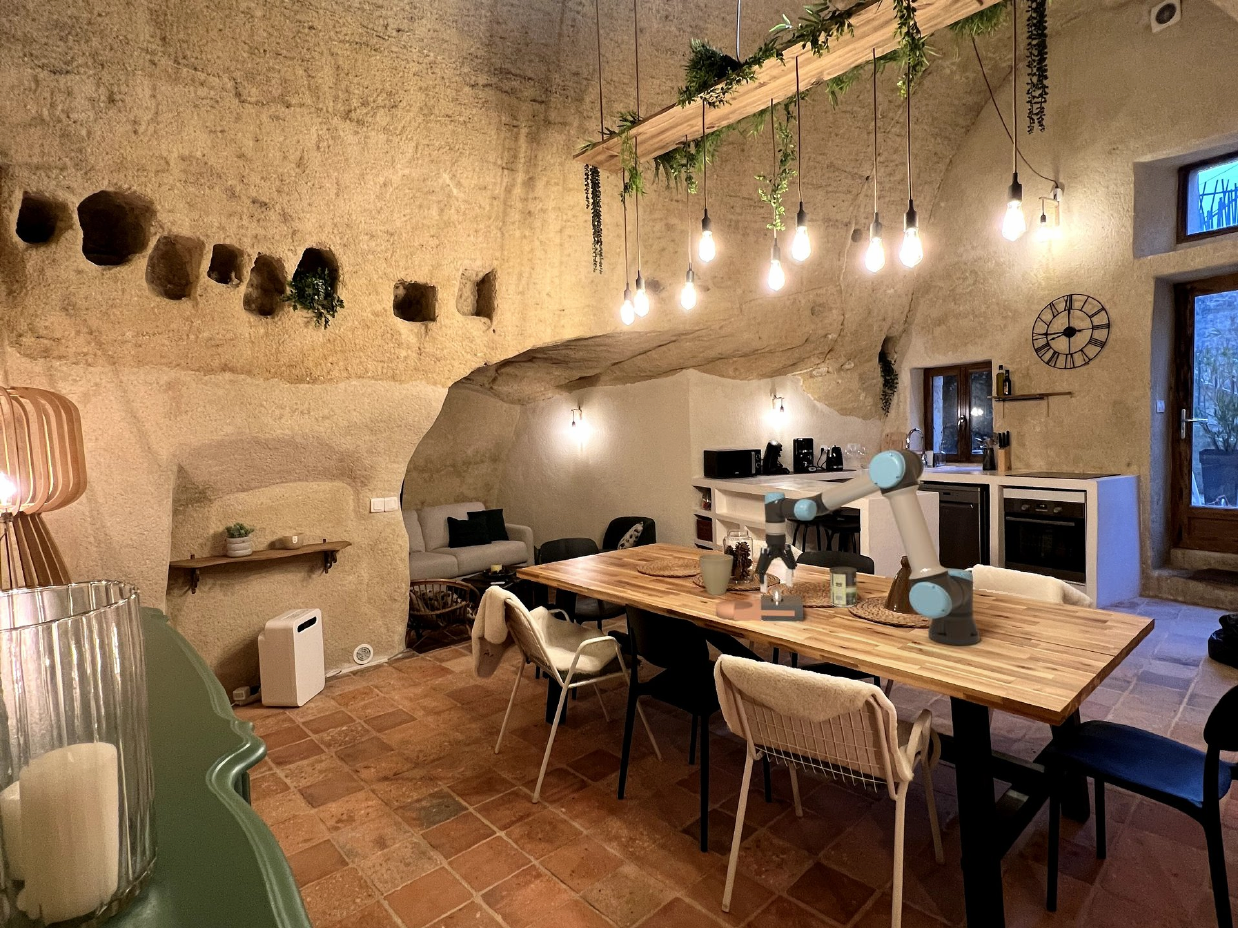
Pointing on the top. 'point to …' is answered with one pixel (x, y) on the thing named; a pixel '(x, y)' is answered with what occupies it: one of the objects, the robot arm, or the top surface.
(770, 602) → the clevis fork
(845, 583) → the coffee can
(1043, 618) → the top surface
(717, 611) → the knuckle link
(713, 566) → the plant pot
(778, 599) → the steel pin
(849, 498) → the robot arm
